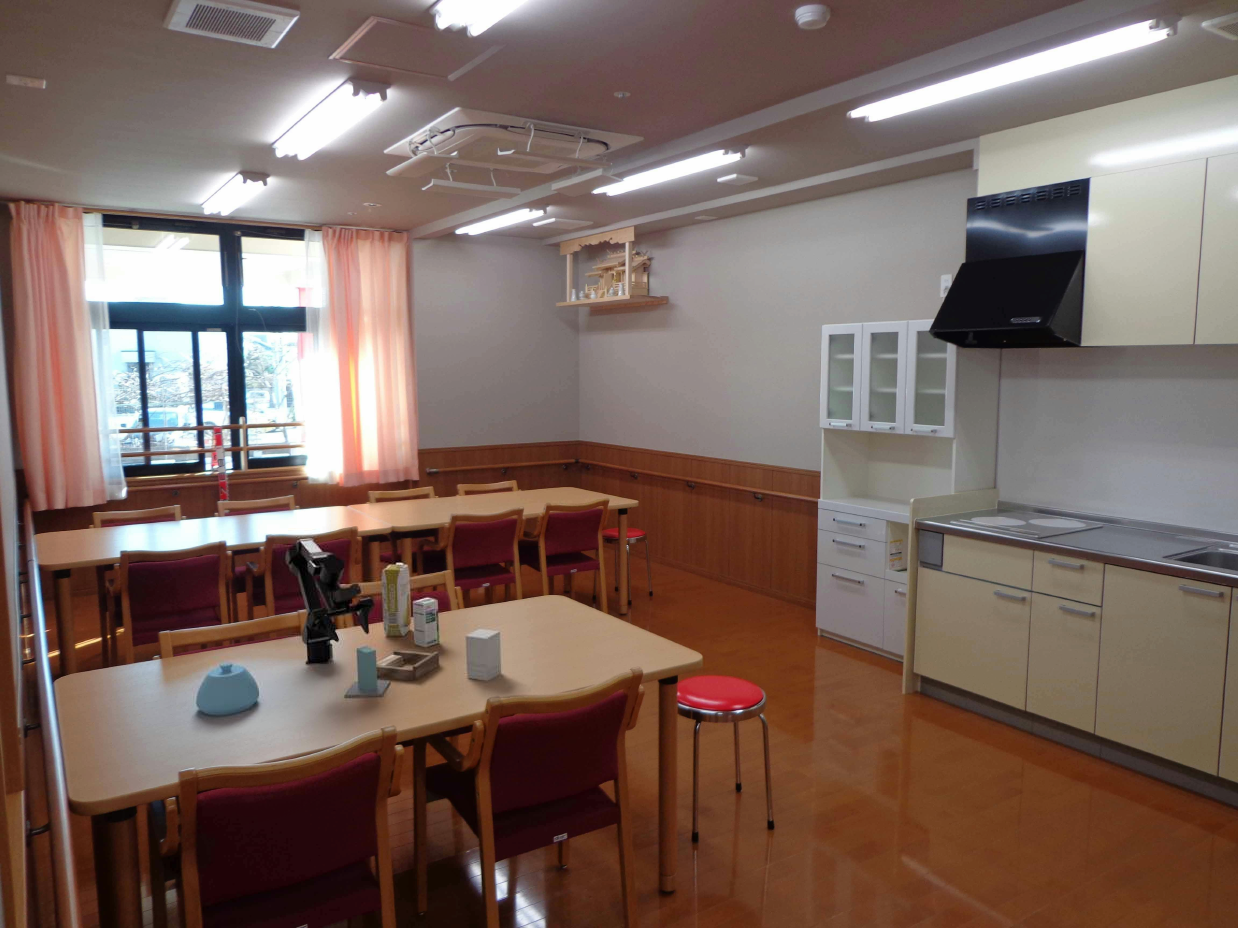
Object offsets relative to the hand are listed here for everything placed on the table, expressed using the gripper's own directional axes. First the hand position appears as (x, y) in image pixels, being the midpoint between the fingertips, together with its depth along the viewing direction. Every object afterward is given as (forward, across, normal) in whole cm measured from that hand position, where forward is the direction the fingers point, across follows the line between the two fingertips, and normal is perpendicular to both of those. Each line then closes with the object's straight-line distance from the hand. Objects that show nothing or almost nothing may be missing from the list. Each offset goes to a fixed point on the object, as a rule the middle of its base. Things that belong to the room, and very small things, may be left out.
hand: (353, 637), depth 230 cm
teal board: (+14, 0, +5) cm, 15 cm away
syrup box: (-1, +34, +20) cm, 40 cm away
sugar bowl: (+2, -30, +18) cm, 35 cm away
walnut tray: (+10, +16, +9) cm, 21 cm away
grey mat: (+14, 0, +5) cm, 15 cm away
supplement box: (+25, +28, -6) cm, 38 cm away
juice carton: (-13, +34, +32) cm, 48 cm away
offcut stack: (+7, +13, +13) cm, 20 cm away
